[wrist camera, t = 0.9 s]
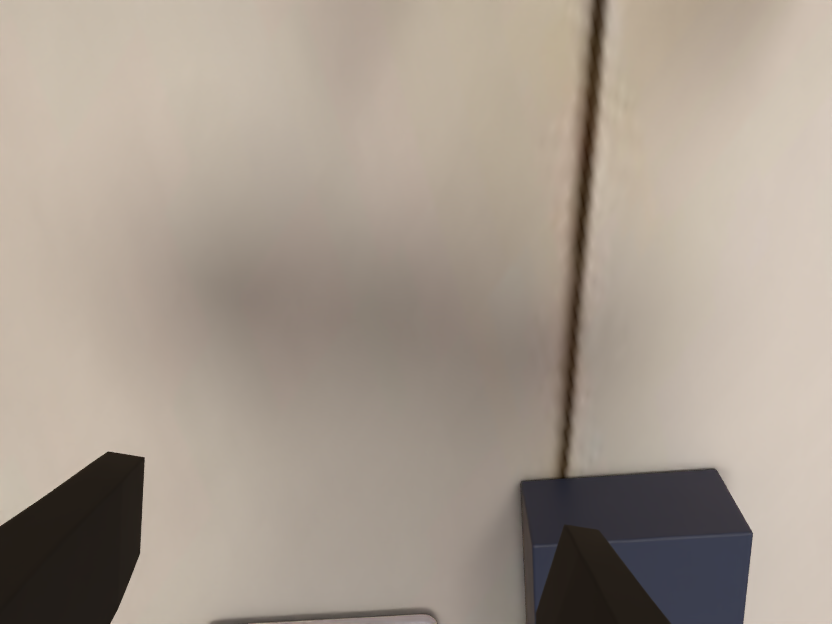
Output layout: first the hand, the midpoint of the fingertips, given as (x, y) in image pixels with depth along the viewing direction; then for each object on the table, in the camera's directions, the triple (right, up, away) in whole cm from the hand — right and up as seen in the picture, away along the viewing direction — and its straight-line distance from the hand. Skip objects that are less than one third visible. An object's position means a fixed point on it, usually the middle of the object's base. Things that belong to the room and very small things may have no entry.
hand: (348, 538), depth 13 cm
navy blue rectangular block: (+8, -6, +13) cm, 16 cm away
